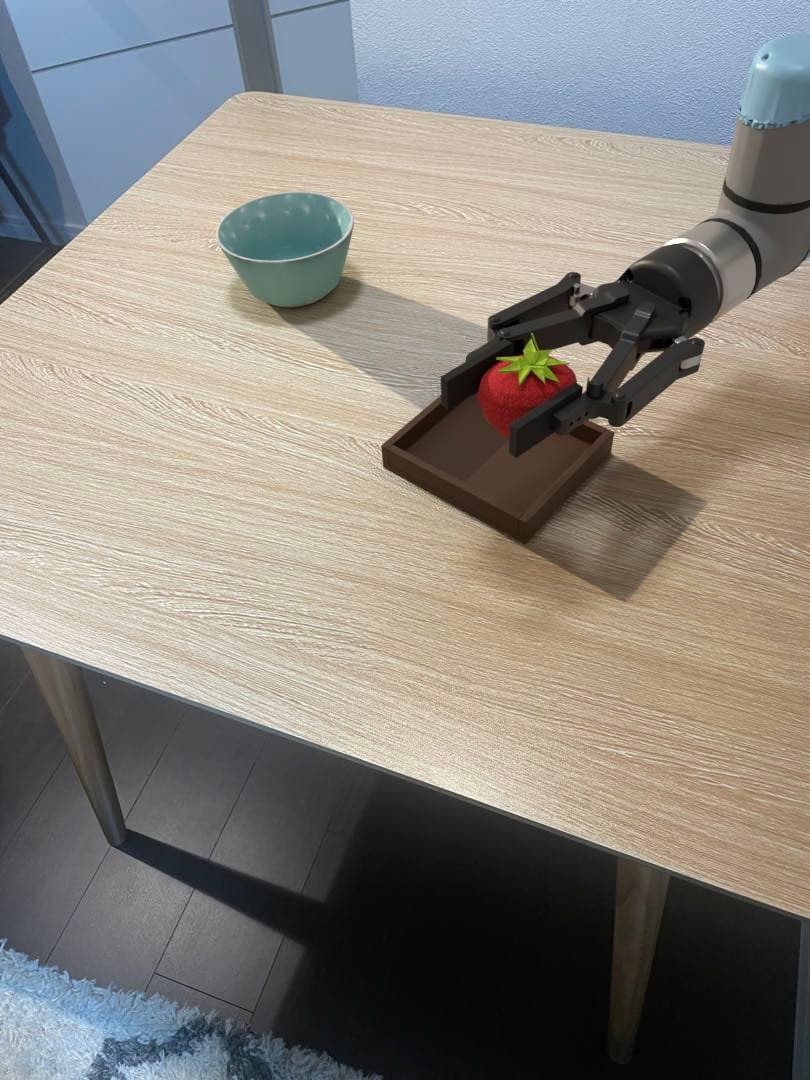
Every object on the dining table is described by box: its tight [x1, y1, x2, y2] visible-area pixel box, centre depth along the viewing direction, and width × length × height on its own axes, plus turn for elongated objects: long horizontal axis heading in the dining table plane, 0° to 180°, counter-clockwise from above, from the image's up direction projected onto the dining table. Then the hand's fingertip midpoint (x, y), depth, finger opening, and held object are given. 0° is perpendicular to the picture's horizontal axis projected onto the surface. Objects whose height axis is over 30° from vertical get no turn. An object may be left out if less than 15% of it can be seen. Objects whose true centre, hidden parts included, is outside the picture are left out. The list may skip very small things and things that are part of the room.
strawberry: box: [477, 333, 578, 439], centre depth 68 cm, size 6×8×10 cm
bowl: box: [215, 191, 355, 308], centre depth 107 cm, size 16×16×8 cm
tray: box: [380, 392, 615, 545], centre depth 87 cm, size 17×15×3 cm
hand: (478, 416), depth 65 cm, fingers closed on strawberry, 6 cm apart
